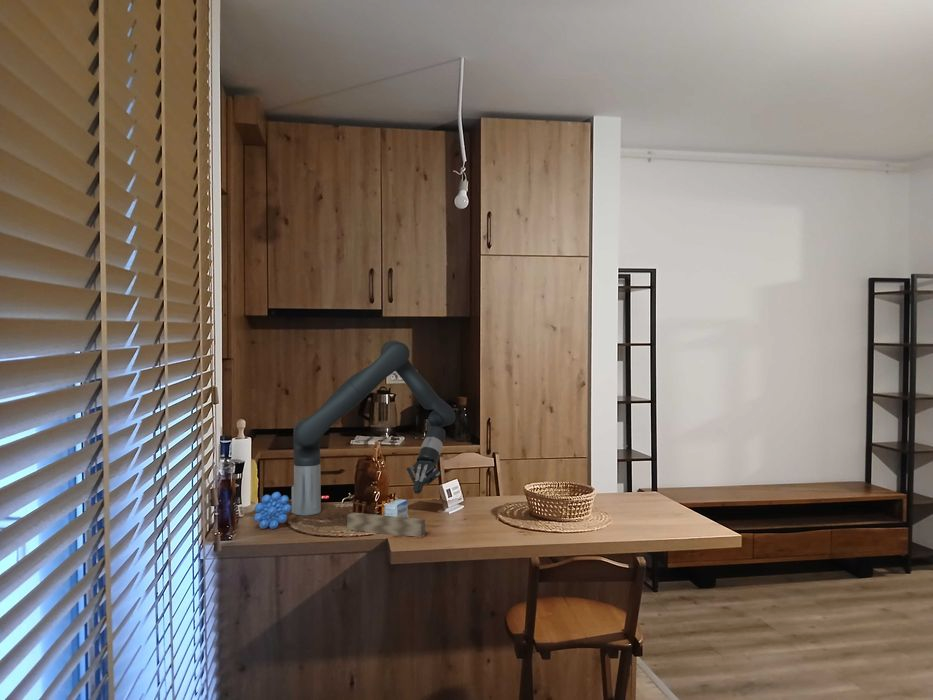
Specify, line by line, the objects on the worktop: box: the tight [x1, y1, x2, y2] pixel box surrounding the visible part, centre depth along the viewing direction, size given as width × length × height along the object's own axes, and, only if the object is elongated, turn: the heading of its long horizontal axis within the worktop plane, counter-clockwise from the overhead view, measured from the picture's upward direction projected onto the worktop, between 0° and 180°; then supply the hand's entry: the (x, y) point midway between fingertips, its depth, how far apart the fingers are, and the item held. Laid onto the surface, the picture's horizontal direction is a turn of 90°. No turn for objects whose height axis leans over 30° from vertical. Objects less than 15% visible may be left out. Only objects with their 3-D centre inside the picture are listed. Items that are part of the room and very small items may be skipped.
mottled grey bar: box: [346, 511, 426, 538], centre depth 207 cm, size 26×3×5 cm, turn 70°
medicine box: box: [384, 499, 409, 518], centre depth 211 cm, size 8×4×9 cm, turn 159°
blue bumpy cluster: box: [253, 491, 292, 530], centre depth 212 cm, size 12×7×12 cm, turn 101°
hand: (416, 492), depth 228 cm, fingers closed
